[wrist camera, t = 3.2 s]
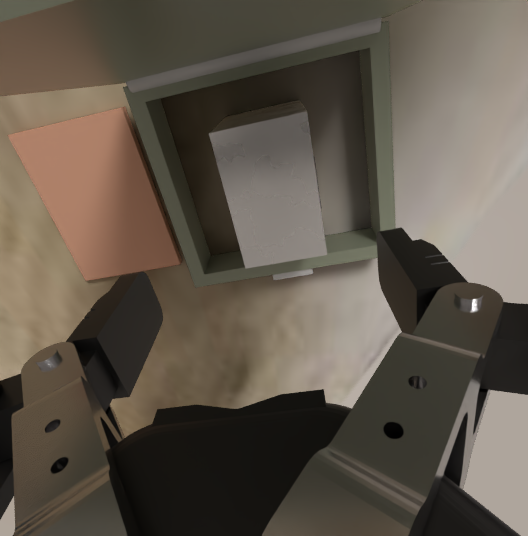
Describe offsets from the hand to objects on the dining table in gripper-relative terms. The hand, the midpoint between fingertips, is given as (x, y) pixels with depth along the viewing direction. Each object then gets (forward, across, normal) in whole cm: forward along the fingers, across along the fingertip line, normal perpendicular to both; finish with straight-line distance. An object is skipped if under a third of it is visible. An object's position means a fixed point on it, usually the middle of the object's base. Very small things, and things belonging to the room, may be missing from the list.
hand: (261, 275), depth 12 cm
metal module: (+15, 0, 0) cm, 15 cm away
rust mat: (+15, +13, 0) cm, 20 cm away
